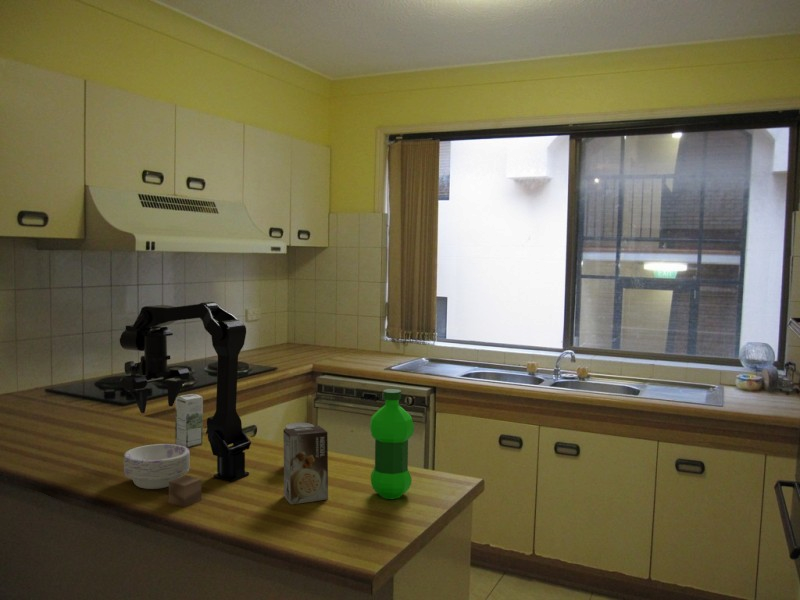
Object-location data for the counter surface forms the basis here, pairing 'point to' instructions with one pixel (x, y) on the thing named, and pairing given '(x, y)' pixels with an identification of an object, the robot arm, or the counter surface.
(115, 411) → the counter surface
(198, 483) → the walnut block
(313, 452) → the coffee box
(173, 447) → the paper bowls
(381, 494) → the plastic bottle
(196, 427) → the syrup box
